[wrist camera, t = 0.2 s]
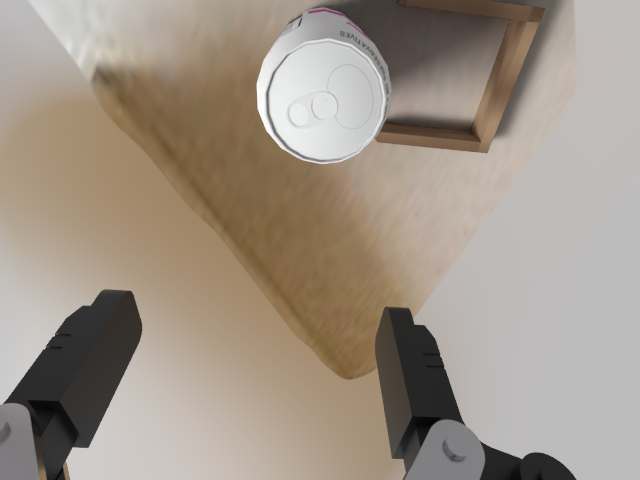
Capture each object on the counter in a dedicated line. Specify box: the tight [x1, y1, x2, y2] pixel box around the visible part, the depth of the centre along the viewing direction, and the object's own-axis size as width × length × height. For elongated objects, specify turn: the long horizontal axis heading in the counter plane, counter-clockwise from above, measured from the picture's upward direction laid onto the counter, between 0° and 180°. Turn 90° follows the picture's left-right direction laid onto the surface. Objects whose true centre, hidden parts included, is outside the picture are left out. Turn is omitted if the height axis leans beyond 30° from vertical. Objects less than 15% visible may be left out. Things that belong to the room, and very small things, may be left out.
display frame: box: [376, 0, 545, 153], centre depth 32 cm, size 12×11×3 cm
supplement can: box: [257, 7, 392, 164], centre depth 27 cm, size 8×8×15 cm
